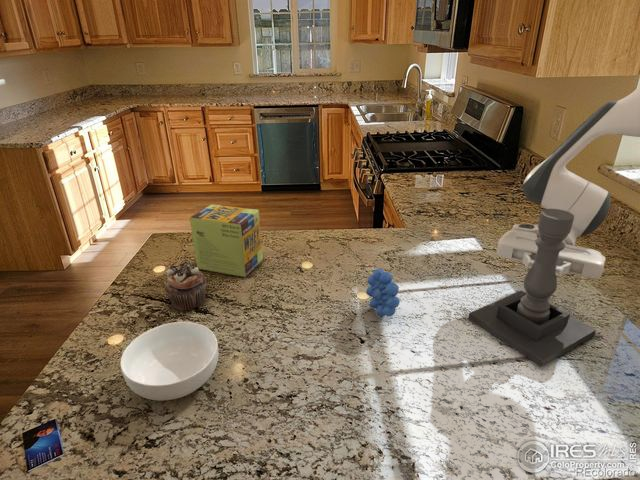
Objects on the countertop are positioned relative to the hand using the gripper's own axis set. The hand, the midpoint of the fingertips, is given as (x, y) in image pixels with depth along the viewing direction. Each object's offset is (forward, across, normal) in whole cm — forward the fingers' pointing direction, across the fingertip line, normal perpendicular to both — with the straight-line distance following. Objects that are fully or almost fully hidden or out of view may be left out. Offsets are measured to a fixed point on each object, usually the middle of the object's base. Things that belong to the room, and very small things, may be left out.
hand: (543, 270), depth 85 cm
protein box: (+13, +75, -15) cm, 78 cm away
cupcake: (+32, +71, -15) cm, 79 cm away
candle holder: (-1, 0, -13) cm, 13 cm away
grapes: (+12, +28, -15) cm, 34 cm away
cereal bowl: (+51, +53, -15) cm, 75 cm away
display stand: (-1, 0, -14) cm, 15 cm away
